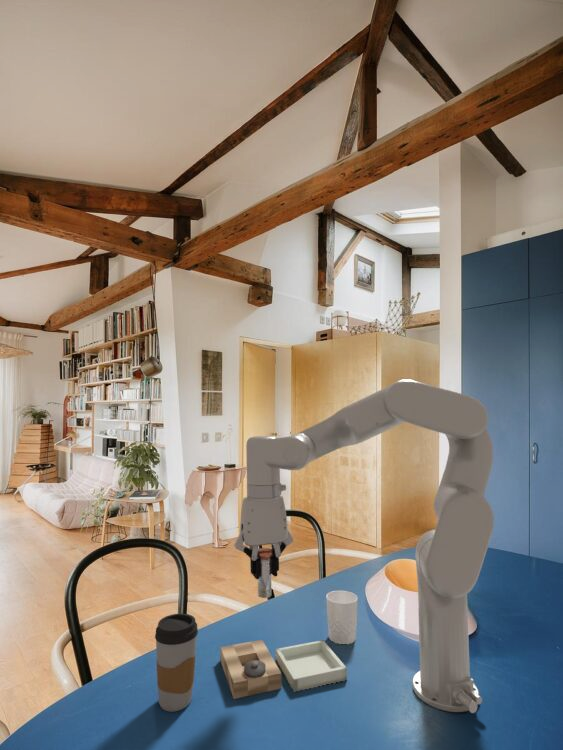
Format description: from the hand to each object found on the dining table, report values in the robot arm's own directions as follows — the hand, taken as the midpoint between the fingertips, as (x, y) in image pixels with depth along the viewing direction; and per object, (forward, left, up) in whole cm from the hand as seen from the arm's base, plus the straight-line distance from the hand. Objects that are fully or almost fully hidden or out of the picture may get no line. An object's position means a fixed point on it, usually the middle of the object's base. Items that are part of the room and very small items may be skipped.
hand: (264, 574), depth 96 cm
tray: (-2, -10, -21) cm, 23 cm away
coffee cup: (-3, +19, -21) cm, 29 cm away
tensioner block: (+1, +3, -21) cm, 21 cm away
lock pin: (0, 0, -4) cm, 4 cm away
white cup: (+8, -23, -21) cm, 32 cm away
